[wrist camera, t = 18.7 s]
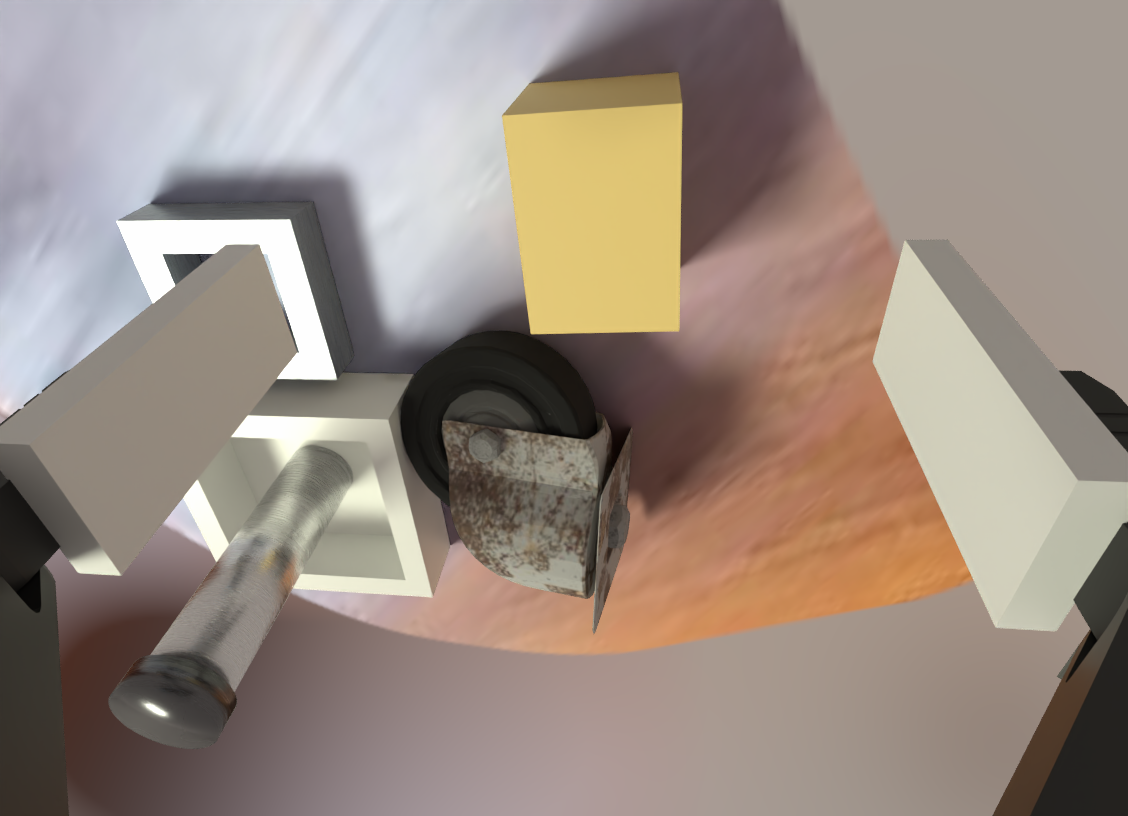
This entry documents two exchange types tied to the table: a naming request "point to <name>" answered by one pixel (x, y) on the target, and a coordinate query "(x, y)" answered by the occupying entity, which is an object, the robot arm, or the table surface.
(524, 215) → the block
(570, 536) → the caster wheel
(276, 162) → the table surface
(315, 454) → the pin
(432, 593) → the tray
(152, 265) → the pin socket
